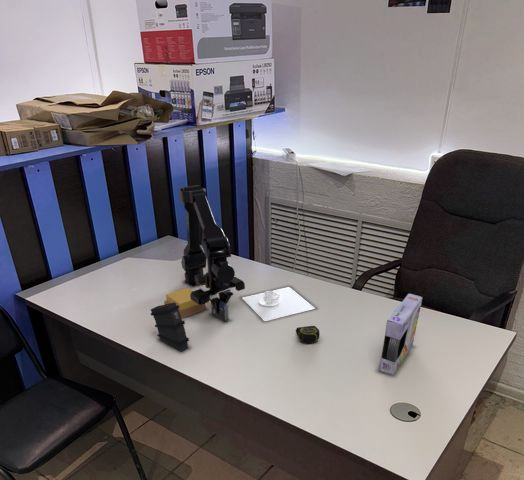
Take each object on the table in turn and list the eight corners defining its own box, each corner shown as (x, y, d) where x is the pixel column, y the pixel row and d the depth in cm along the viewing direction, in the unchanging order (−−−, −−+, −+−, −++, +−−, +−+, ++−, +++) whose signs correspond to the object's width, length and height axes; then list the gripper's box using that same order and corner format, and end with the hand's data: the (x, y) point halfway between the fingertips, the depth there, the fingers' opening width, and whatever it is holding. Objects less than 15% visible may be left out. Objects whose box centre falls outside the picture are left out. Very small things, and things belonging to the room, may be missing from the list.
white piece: (276, 295, 185) (276, 285, 182) (286, 304, 178) (286, 293, 176) (254, 300, 181) (254, 290, 179) (264, 309, 175) (263, 299, 173)
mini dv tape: (211, 312, 173) (210, 297, 170) (215, 311, 174) (213, 296, 171) (225, 321, 168) (224, 306, 165) (228, 320, 169) (227, 304, 166)
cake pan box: (393, 378, 139) (401, 324, 130) (376, 373, 142) (383, 319, 132) (414, 347, 153) (423, 295, 143) (398, 342, 155) (406, 291, 146)
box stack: (191, 299, 183) (189, 286, 180) (206, 309, 176) (204, 295, 173) (165, 309, 177) (163, 295, 174) (179, 319, 171) (177, 305, 168)
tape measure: (315, 333, 161) (316, 323, 159) (321, 344, 155) (322, 334, 153) (295, 335, 160) (295, 325, 158) (300, 346, 154) (300, 336, 152)
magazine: (186, 351, 150) (167, 306, 146) (164, 353, 160) (145, 310, 156) (195, 346, 152) (177, 301, 149) (173, 348, 162) (155, 306, 159)
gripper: (225, 256, 172) (228, 296, 180) (179, 270, 162) (184, 312, 171) (244, 266, 165) (246, 307, 173) (197, 281, 155) (201, 324, 163)
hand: (219, 312), depth 170 cm, fingers closed on mini dv tape, 1 cm apart
